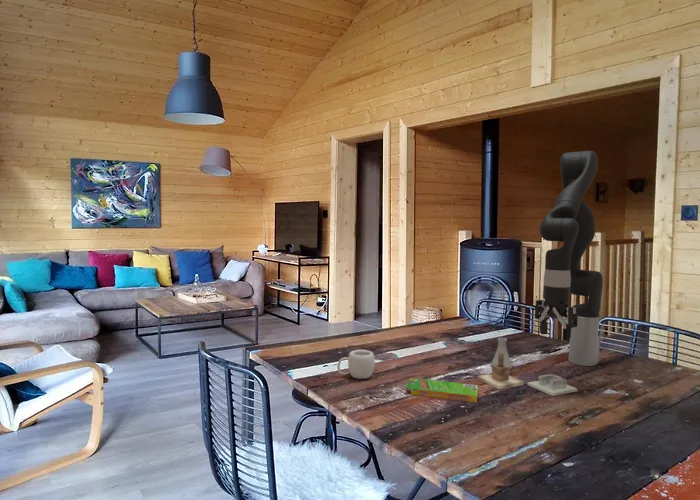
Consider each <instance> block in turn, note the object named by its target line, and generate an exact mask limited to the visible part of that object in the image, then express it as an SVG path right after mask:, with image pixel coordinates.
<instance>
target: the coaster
mask: <svg viewBox="0 0 700 500" xmlns="http://www.w3.org/2000/svg"><path fill="white" fill-rule="evenodd" d="M527 386H529V387H531V388H533V389H535V390H538V391H541V392H543V393H546V394H547V395H549V396H552V397H554V396H561V395H565V394H569V393H575V392H578V388H576V387H574V386H572V385H569V384H567V383H566V387H565V388H560V389H554V390H552V389H549V384H546V385H540V384H538V380H534V381H530V382H527Z"/></svg>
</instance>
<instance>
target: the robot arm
mask: <svg viewBox="0 0 700 500" xmlns="http://www.w3.org/2000/svg"><path fill="white" fill-rule="evenodd" d="M559 168H560V170H559V171H560V178H561V183H562V190H561V191H560V192H559V194H558V196H557V197H556V201H555V204H554V205H553V207H552V208H551V210H550V211H549V213H548V214H547V215H546V216H545V217H544V218H543V220H542V222H541V223H540V226H539V227H540V228H539V233H540V236H541V238H542V239H543V240H544V241H548V242H563V244H562V245H561V247H559V248H554V249H552V248H551V249H548V250H547V251H546V252H545V258H544V259H545V260H544V261H545V262H544V263H545V264H544V273H543V288H542V298H543V299H538V300H537V299H536V301H535V307H534V308H535V309H534V319H535V320H538V321H539V333H540V335H542V336H543V335H547V334H548V330H549V329H548V326H549V323H548V321H549V319H550V318H554V319H556V320H558V322H559V323H561V325H562V327H563V328H562V341H563V342H567V341H568V342H569V344H568V345H569V346H568V347H569V348H568V362H570V363H571V364H574V365H578V366H583V367H585V366H586V367H592V366H596V365H597V364H599V360H600V347H601V346H600V345H601V343H600V342H601V341H600V340H601V339H600V338H601V337H600V336H599V332H600V331H599V329H600V325H599V324H600V312H601V311H600V310H601V303H602V292H603V284H604V280H603V275H602V273H601V272H600V271H598V270H588V269H581V260H582V257H583V255H584V253H585V252H586V250H587V249H588V248H589V246H591V244H592V242H593V240H594V237H595V235H596V227H595V226H596V224H595V223H596V222H595V221H596V220H595V216H594V212H593V211H592V210H591V208H590V206H588V205H587V203H586V202H585V201H584V196H585V195H586V193H587V192H588V190H589V189H590V186H591V184H592V183H593V181H594V179H595V178H596V175H597V173H598V169H599V160H598V155H597V153H596V152H595V151H593V150H582V151H571V152H564V153H562V155H561V156H560V163H559ZM571 295H574V296H582V297H588V298H587V301H585V302H583V303H579V304H575V305H572V306H569V301H570V299H571Z"/></svg>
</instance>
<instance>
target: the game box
mask: <svg viewBox="0 0 700 500" xmlns="http://www.w3.org/2000/svg"><path fill="white" fill-rule="evenodd" d="M405 389H410V390H411V393H410V395H411V396H417V397H418V396H419V397H424V398H425V397H426V398H433V399H434V398H435V399H441V400H442V399H444V400H451V401H460V402H461V401H462V402H469V403H477V401H478V395H479V393H478V392H479V385H477V384H471V383H470V384H468V383H460V382H452V381H444V380H436V379H425V378H418V377H417V378H415V377H413V378H412V377H411V378H409V380H408V382H407V384H406V386H405Z"/></svg>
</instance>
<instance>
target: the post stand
mask: <svg viewBox="0 0 700 500" xmlns="http://www.w3.org/2000/svg"><path fill="white" fill-rule="evenodd" d="M503 364H504V354H503V353H499V356H498V365H492V366H491V373H487V374H482V375H481V374H480V375H477V376H476V379H477V380H478V381H480V382H482V383H485V384H487V385H489V386H491V387H493V388H495V389H496V390H497V389H498V390H502V389H508V388H509V389H510V388H513V387H519V386H525V385H524V384H525V381H523V380H521V379H518V378H516V377H514V376H512V375H510V369H509V367H507V366H505V365H503Z"/></svg>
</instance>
